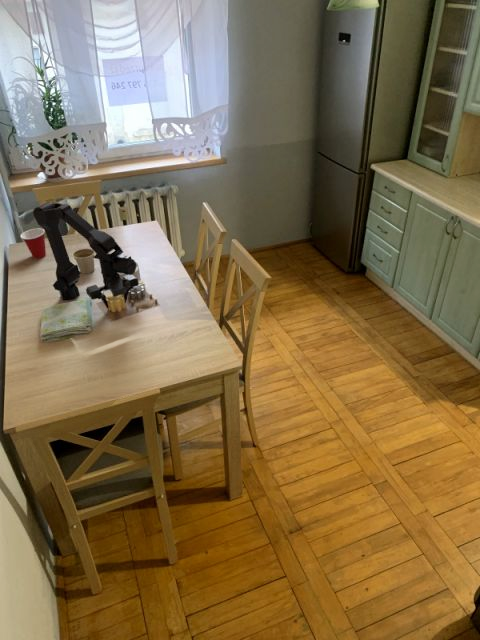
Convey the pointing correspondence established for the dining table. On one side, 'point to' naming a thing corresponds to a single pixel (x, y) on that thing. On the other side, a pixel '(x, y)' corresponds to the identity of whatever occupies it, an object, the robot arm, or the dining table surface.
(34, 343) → the dining table surface
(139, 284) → the small gear
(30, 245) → the plastic cup
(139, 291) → the gear
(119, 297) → the loose gear
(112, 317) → the board
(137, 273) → the grey paw block
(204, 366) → the dining table surface
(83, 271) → the flower pot
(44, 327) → the towel
